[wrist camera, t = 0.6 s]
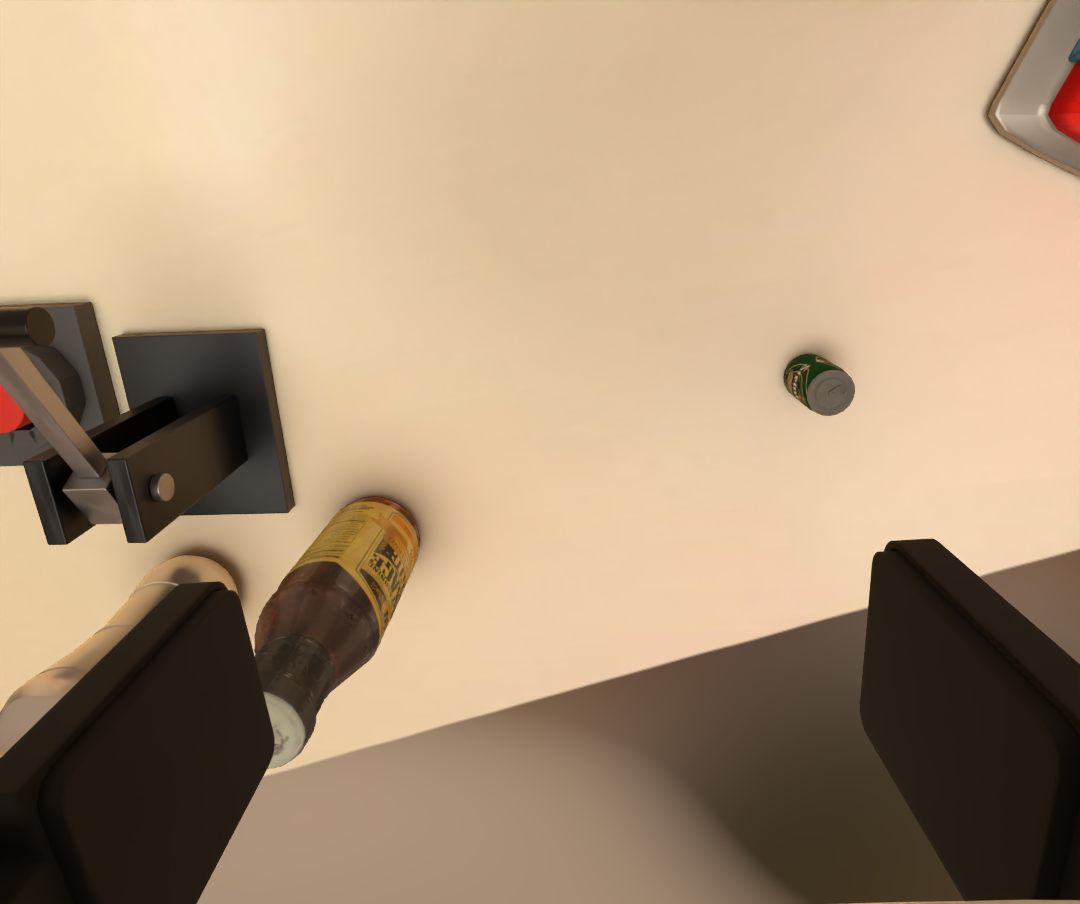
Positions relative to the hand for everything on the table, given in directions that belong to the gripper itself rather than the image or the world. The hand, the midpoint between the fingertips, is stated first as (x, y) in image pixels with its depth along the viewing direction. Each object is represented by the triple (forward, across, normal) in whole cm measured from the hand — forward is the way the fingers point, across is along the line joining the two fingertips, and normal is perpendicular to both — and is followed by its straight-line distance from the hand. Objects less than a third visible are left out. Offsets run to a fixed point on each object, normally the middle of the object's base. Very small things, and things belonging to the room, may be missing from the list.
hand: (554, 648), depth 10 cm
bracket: (+34, +23, +5) cm, 41 cm away
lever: (+22, +23, +1) cm, 31 cm away
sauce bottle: (+34, +13, +14) cm, 39 cm away
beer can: (+34, -15, +5) cm, 38 cm away
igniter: (+34, +33, +2) cm, 47 cm away
